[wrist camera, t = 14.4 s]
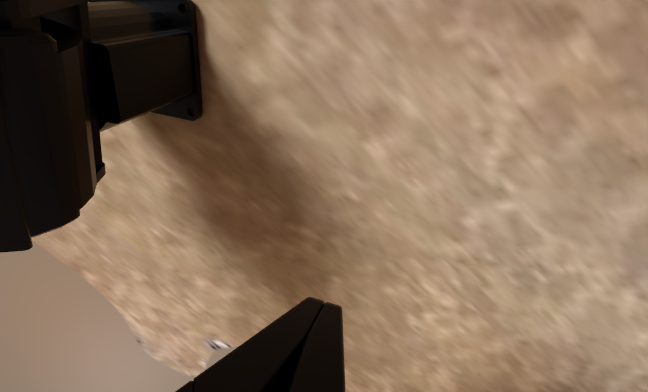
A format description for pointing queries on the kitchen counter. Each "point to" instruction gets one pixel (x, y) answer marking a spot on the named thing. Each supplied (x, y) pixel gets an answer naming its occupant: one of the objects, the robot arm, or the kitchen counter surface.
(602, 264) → the kitchen counter surface
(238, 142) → the kitchen counter surface
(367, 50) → the kitchen counter surface
